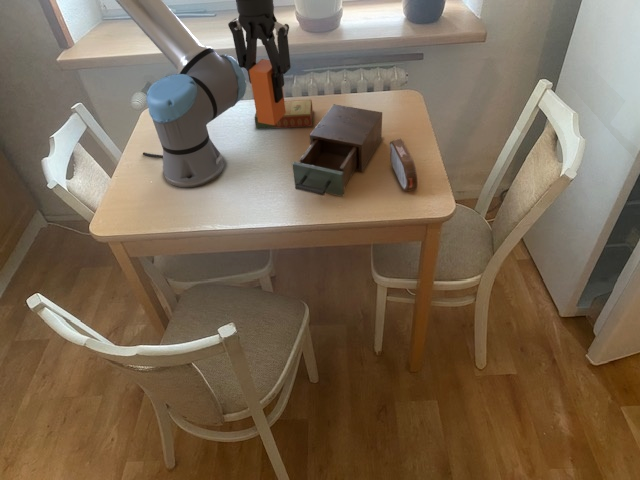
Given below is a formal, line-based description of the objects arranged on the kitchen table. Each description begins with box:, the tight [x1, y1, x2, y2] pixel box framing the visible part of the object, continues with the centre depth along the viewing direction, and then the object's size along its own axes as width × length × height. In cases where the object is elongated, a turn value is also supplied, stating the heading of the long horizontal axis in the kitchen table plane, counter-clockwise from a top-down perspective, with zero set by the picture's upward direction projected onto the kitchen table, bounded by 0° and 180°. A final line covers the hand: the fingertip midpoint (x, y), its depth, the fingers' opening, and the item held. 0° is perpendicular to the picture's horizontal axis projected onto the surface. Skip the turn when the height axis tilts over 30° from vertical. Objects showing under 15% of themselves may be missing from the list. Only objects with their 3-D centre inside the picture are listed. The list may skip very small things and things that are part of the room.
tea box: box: [249, 58, 286, 125], centre depth 109 cm, size 6×4×13 cm
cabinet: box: [309, 104, 383, 173], centre depth 122 cm, size 16×14×8 cm
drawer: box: [292, 139, 359, 197], centre depth 113 cm, size 19×12×6 cm, turn 156°
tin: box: [389, 138, 418, 192], centre depth 112 cm, size 15×3×8 cm, turn 9°
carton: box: [254, 99, 314, 130], centre depth 136 cm, size 8×16×4 cm, turn 89°
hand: (269, 97), depth 110 cm, fingers closed on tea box, 4 cm apart
